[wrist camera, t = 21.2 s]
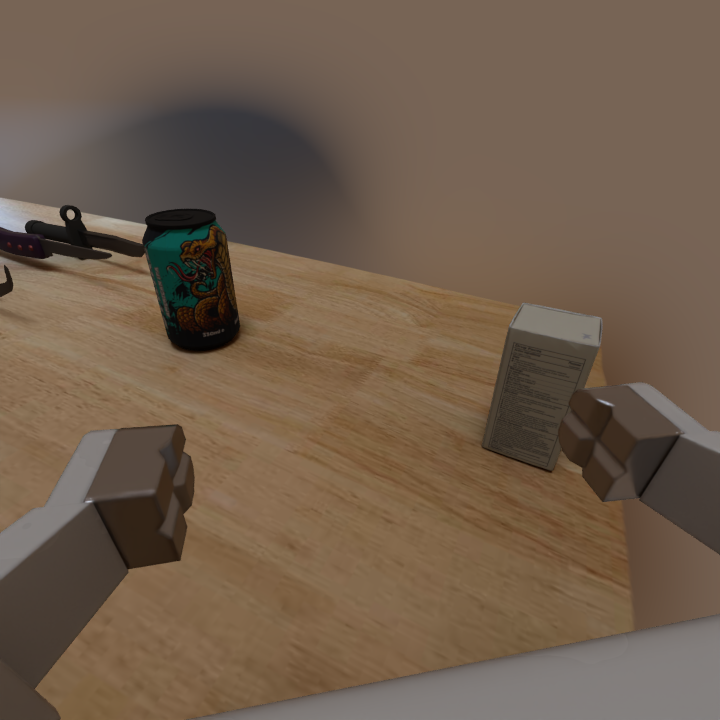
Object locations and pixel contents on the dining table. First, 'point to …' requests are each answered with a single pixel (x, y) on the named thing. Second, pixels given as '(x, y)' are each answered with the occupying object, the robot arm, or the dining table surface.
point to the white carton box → (539, 381)
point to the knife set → (71, 234)
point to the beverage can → (192, 277)
